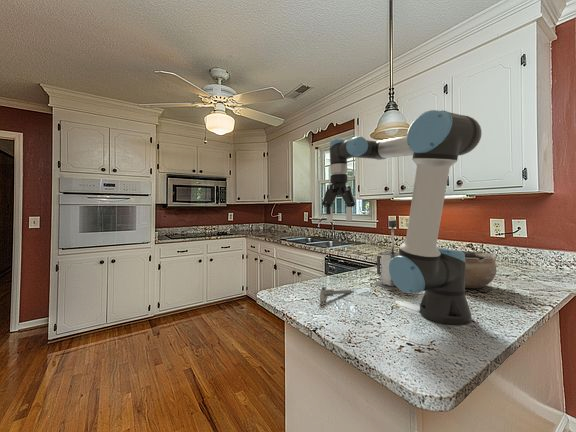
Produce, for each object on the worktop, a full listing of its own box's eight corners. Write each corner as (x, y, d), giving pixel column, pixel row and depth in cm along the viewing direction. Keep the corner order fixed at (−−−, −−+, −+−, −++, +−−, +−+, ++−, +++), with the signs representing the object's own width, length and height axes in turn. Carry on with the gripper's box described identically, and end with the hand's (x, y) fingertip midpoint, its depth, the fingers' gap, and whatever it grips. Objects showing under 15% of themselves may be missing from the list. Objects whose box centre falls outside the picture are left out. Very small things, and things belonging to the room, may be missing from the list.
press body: (408, 284, 125) (408, 253, 125) (396, 288, 119) (396, 256, 119) (383, 279, 136) (383, 250, 135) (371, 282, 130) (371, 252, 129)
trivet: (418, 286, 125) (418, 284, 125) (399, 293, 115) (399, 291, 115) (387, 279, 138) (386, 277, 138) (367, 285, 128) (367, 283, 128)
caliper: (322, 304, 105) (321, 288, 105) (319, 303, 106) (319, 287, 106) (353, 292, 119) (353, 278, 118) (351, 292, 119) (351, 277, 119)
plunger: (404, 258, 125) (404, 220, 125) (395, 260, 121) (395, 221, 120) (389, 256, 131) (389, 219, 131) (380, 258, 127) (380, 220, 126)
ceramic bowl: (476, 296, 110) (476, 260, 110) (428, 283, 130) (429, 252, 130) (507, 289, 119) (507, 255, 119) (458, 277, 139) (459, 248, 139)
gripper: (349, 177, 133) (350, 220, 133) (313, 173, 117) (314, 222, 117) (362, 175, 127) (363, 220, 127) (326, 171, 111) (327, 222, 111)
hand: (339, 221), depth 122 cm, fingers open, 13 cm apart
